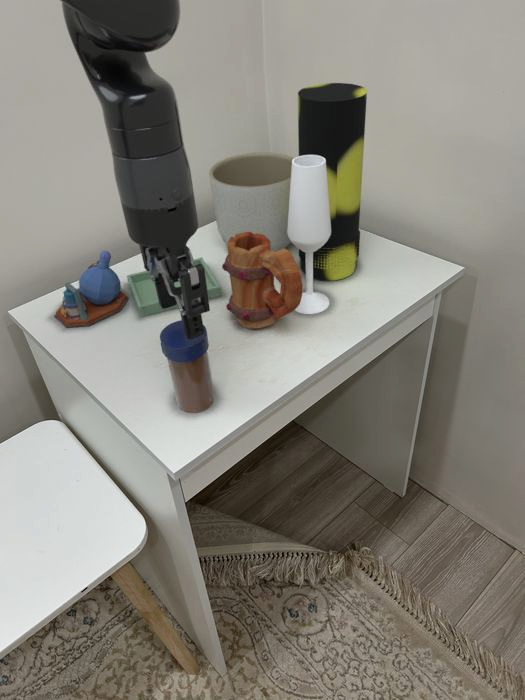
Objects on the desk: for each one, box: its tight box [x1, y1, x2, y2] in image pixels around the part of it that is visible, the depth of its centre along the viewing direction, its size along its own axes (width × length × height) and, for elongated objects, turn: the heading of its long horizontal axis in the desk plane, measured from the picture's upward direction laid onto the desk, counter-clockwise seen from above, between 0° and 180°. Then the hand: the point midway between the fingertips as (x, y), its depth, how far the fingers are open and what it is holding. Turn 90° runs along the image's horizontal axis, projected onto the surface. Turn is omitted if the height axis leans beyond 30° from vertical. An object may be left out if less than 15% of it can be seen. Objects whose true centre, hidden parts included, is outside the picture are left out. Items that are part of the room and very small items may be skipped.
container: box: [297, 82, 368, 282], centre depth 91 cm, size 11×11×30 cm
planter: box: [208, 151, 295, 252], centre depth 104 cm, size 17×17×15 cm
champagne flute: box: [287, 155, 331, 315], centre depth 84 cm, size 7×7×24 cm
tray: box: [126, 257, 222, 318], centre depth 96 cm, size 14×11×2 cm
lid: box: [159, 319, 210, 363], centre depth 68 cm, size 6×6×2 cm
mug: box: [221, 232, 304, 329], centre depth 82 cm, size 15×8×15 cm, turn 42°
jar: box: [166, 351, 215, 414], centre depth 71 cm, size 5×5×11 cm
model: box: [53, 250, 129, 329], centre depth 91 cm, size 12×9×9 cm
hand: (181, 320), depth 66 cm, fingers open, 7 cm apart
